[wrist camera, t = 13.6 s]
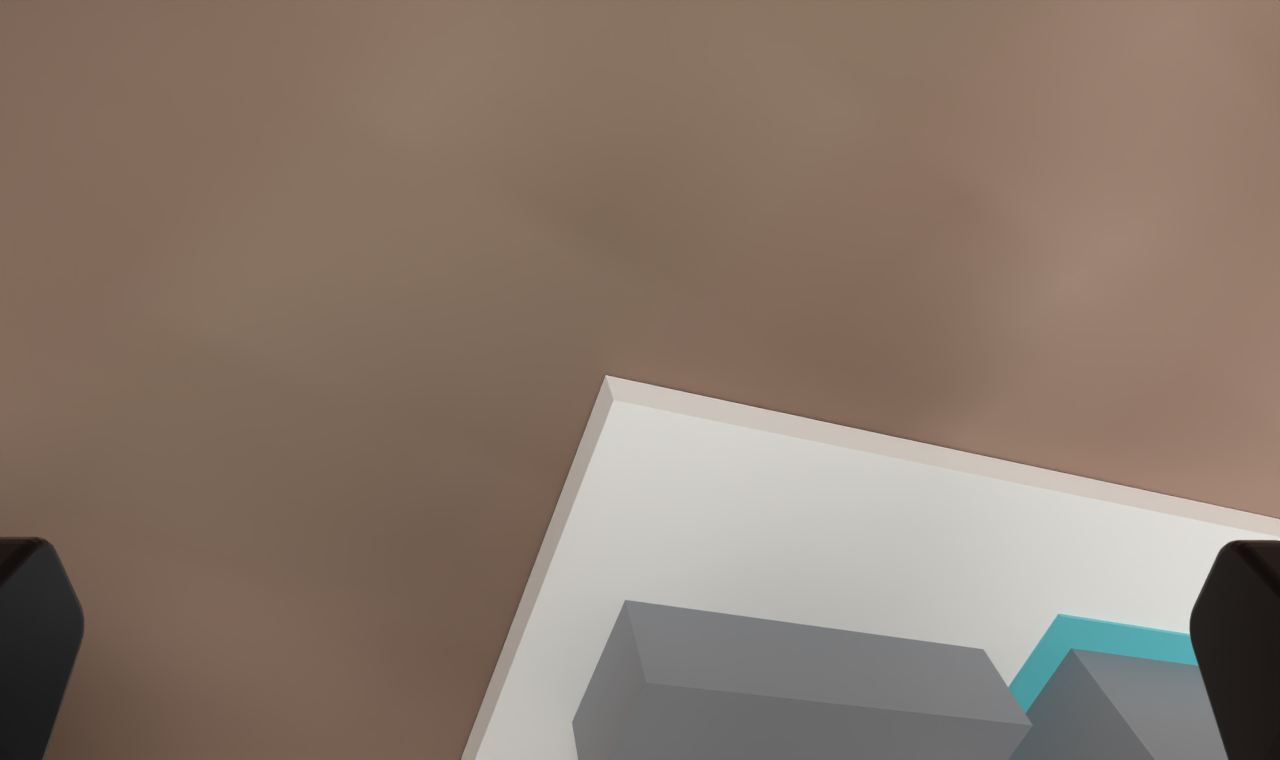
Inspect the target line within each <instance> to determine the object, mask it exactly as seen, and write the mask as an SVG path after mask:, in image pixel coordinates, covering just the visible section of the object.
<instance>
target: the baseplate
mask: <svg viewBox="0 0 1280 760" xmlns="http://www.w3.org/2000/svg"><path fill="white" fill-rule="evenodd" d="M1235 540H1278V541H1280V519H1277V518H1272V517H1267V516H1263V515H1258V514H1253V513H1249V512H1244V511H1239V510H1235V509H1230V508H1225V507H1221V506H1216V505H1211V504H1207V503H1202V502H1197V501H1193V500H1188V499H1183V498H1178V497H1174V496H1169V495H1164V494H1160V493H1155V492H1150V491H1146V490H1141V489H1136V488H1132V487H1127V486H1122V485H1118V484H1113V483H1108V482H1104V481H1099V480H1094V479H1090V478H1085V477H1080V476H1075V475H1071V474H1066V473H1061V472H1057V471H1052V470H1047V469H1043V468H1038V467H1033V466H1029V465H1024V464H1019V463H1015V462H1010V461H1005V460H1001V459H996V458H991V457H987V456H982V455H977V454H972V453H968V452H963V451H958V450H954V449H949V448H944V447H940V446H935V445H930V444H926V443H921V442H916V441H912V440H907V439H902V438H898V437H893V436H888V435H884V434H879V433H874V432H869V431H865V430H860V429H855V428H851V427H846V426H841V425H837V424H832V423H827V422H823V421H818V420H813V419H809V418H804V417H799V416H795V415H790V414H785V413H781V412H776V411H771V410H766V409H762V408H757V407H752V406H748V405H743V404H738V403H734V402H729V401H724V400H720V399H715V398H710V397H706V396H701V395H696V394H692V393H687V392H682V391H678V390H673V389H668V388H663V387H659V386H654V385H649V384H645V383H640V382H635V381H631V380H626V379H621V378H617V377H612V376H607V375H606V376H605V378H604V381H603V384H602V386H601V389H600V391H599V394H598V397H597V399H596V402H595V405H594V407H593V410H592V413H591V415H590V418H589V421H588V423H587V426H586V429H585V431H584V434H583V437H582V439H581V442H580V445H579V447H578V450H577V452H576V455H575V458H574V460H573V463H572V466H571V468H570V471H569V474H568V476H567V479H566V482H565V484H564V487H563V490H562V492H561V495H560V498H559V500H558V503H557V506H556V508H555V511H554V514H553V516H552V519H551V521H550V524H549V527H548V529H547V532H546V535H545V537H544V540H543V543H542V545H541V548H540V551H539V553H538V556H537V559H536V561H535V564H534V567H533V569H532V572H531V575H530V577H529V580H528V583H527V585H526V588H525V590H524V593H523V596H522V598H521V601H520V604H519V606H518V609H517V612H516V614H515V617H514V620H513V622H512V625H511V628H510V630H509V633H508V636H507V638H506V641H505V644H504V646H503V649H502V652H501V654H500V657H499V659H498V662H497V665H496V667H495V670H494V673H493V675H492V678H491V681H490V683H489V686H488V689H487V691H486V694H485V697H484V699H483V702H482V705H481V707H480V710H479V713H478V715H477V718H476V721H475V723H474V726H473V728H472V731H471V734H470V736H469V739H468V742H467V744H466V747H465V750H464V752H463V755H462V758H461V760H1008V759H1009V758H1010V757H1011V755H1012V754H1013V752H1014V751H1015V750H1016V748H1017V747H1018V745H1019V744H1020V743H1021V741H1022V740H1023V738H1024V737H1025V736H1026V734H1027V733H1028V731H1029V730H1030V729H1031V727H1032V726H1033V725H1032V723H1031V722H1030V720H1029V719H1028V717H1027V716H1026V714H1025V713H1026V712H1027V710H1028V709H1029V707H1030V706H1031V705H1032V703H1033V702H1034V700H1035V699H1036V697H1037V696H1038V695H1039V693H1040V692H1041V690H1042V689H1043V687H1044V686H1045V685H1046V683H1047V682H1048V680H1049V679H1050V677H1051V676H1052V675H1053V673H1054V672H1055V670H1056V669H1057V667H1058V666H1059V665H1060V663H1061V662H1062V660H1063V659H1064V657H1065V656H1066V655H1067V653H1068V652H1069V650H1070V649H1071V648H1074V649H1081V650H1088V651H1095V652H1103V653H1110V654H1117V655H1124V656H1131V657H1139V658H1146V659H1153V660H1160V661H1168V662H1175V663H1182V664H1189V665H1197V666H1198V663H1197V660H1196V657H1195V653H1194V650H1193V647H1192V643H1191V639H1190V631H1189V622H1190V616H1191V612H1192V609H1193V606H1194V604H1195V602H1196V600H1197V598H1198V595H1199V593H1200V591H1201V589H1202V587H1203V585H1204V582H1205V580H1206V578H1207V576H1208V574H1209V572H1210V569H1211V567H1212V565H1213V563H1214V561H1215V558H1216V556H1217V554H1218V552H1219V551H1220V549H1221V548H1222V547H1223V546H1225V545H1226V544H1227V543H1228V542H1231V541H1235Z"/></svg>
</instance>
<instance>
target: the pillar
mask: <svg viewBox="0 0 1280 760" xmlns="http://www.w3.org/2000/svg"><path fill="white" fill-rule="evenodd" d="M1025 714H1026V716H1027V717H1028V719H1029V720H1030V722H1031V723H1032V725H1033V726H1032V727H1031V729H1030V730H1029V731H1028V733H1027V734H1026V736H1025V737H1024V738H1023V740H1022V741H1021V743H1020V744H1019V745H1018V747H1017V748H1016V750H1015V751H1014V752H1013V754H1012V755H1011V757H1010V758H1009V759H1008V760H1228V758H1227V755H1226V752H1225V749H1224V745H1223V742H1222V739H1221V736H1220V733H1219V730H1218V726H1217V723H1216V720H1215V717H1214V714H1213V711H1212V707H1211V704H1210V701H1209V698H1208V695H1207V692H1206V688H1205V685H1204V682H1203V679H1202V676H1201V673H1200V669H1199V666H1197V665H1189V664H1182V663H1175V662H1168V661H1160V660H1153V659H1146V658H1139V657H1131V656H1124V655H1117V654H1110V653H1103V652H1095V651H1088V650H1081V649H1074V648H1071V649H1070V650H1069V652H1068V653H1067V655H1066V656H1065V657H1064V659H1063V660H1062V662H1061V663H1060V665H1059V666H1058V667H1057V669H1056V670H1055V672H1054V673H1053V675H1052V676H1051V677H1050V679H1049V680H1048V682H1047V683H1046V685H1045V686H1044V687H1043V689H1042V690H1041V692H1040V693H1039V695H1038V696H1037V697H1036V699H1035V700H1034V702H1033V703H1032V705H1031V706H1030V707H1029V709H1028V710H1027V712H1026V713H1025Z"/></svg>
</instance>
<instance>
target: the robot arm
mask: <svg viewBox="0 0 1280 760" xmlns="http://www.w3.org/2000/svg"><path fill="white" fill-rule="evenodd" d="M1189 631H1190V639H1191V643H1192V647H1193V650H1194V653H1195V657H1196V660H1197V663H1198V666H1199V669H1200V673H1201V676H1202V679H1203V682H1204V685H1205V688H1206V692H1207V695H1208V698H1209V701H1210V704H1211V707H1212V711H1213V714H1214V717H1215V720H1216V723H1217V726H1218V730H1219V733H1220V736H1221V739H1222V742H1223V745H1224V749H1225V752H1226V755H1227V758H1228V760H1280V541H1278V540H1235V541H1231V542H1228V543H1227V544H1226V545H1225V546H1223V547H1222V548H1221V549H1220V551H1219V552H1218V554H1217V556H1216V558H1215V561H1214V563H1213V565H1212V567H1211V569H1210V572H1209V574H1208V576H1207V578H1206V580H1205V582H1204V585H1203V587H1202V589H1201V591H1200V593H1199V595H1198V598H1197V600H1196V602H1195V604H1194V606H1193V609H1192V612H1191V616H1190V622H1189ZM83 633H84V616H83V610H82V607H81V604H80V602H79V600H78V598H77V596H76V593H75V591H74V589H73V587H72V585H71V582H70V580H69V578H68V576H67V574H66V571H65V569H64V567H63V565H62V563H61V561H60V558H59V556H58V554H57V552H56V550H55V548H54V547H53V545H51V544H50V543H49V542H48V541H47V540H45V539H42V538H39V537H0V760H44V757H45V754H46V751H47V748H48V745H49V742H50V739H51V736H52V733H53V730H54V726H55V723H56V720H57V717H58V714H59V711H60V708H61V705H62V702H63V699H64V696H65V692H66V689H67V686H68V683H69V680H70V677H71V674H72V671H73V668H74V665H75V661H76V658H77V655H78V652H79V649H80V646H81V643H82V639H83Z"/></svg>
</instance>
